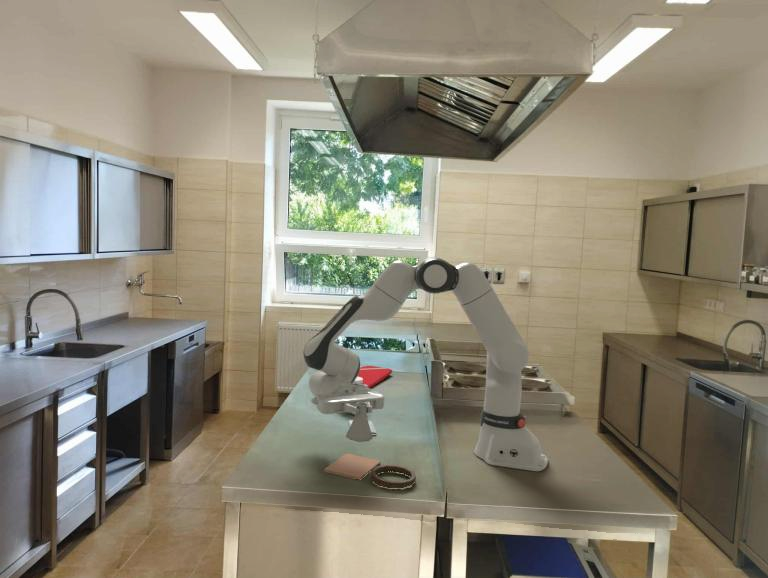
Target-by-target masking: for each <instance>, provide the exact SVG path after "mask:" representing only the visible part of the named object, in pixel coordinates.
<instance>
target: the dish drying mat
mask: <svg viewBox="0 0 768 578" xmlns="http://www.w3.org/2000/svg"><path fill="white" fill-rule="evenodd" d="M392 373H393V369H390V368H386V367H381V366H373V365H364V366H360V371H359V374H358V376H357V377H361V378H363V383H362V384H365V385H367V386H368V387H369V389H372V388H373V387H374V386H376V385H378V384H379V383H380V382H382V381H384V380H385V379H386V378H388V377H389V376H390V375H392Z"/></svg>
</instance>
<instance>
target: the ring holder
mask: <svg viewBox="0 0 768 578" xmlns="http://www.w3.org/2000/svg"><path fill="white" fill-rule="evenodd" d="M388 471H389V472H390V471H391V472H392V471H393V472H399V473H404V474H406V475H408V476H410V479H409V478H407V479H404V480H388V479H384V478H381V477H380V476H379V475H377V474H378V473H381V472H388ZM376 475H377V476H376ZM370 477H371V478H370V481H372V482H374V483H375V484H377V485H379V486H383V487H387V488H404V487H407V486H410V485H412V484H413V483H414V482H415V483H416V481H417V480H416V478H417V476H416V473H415V471H414V470H412V469H410V468H408V467H406V466H402V465H398V464H382V465H381V464H380V465H378V466H376V467H375V468H373V469H372V470H371V472H370ZM372 482H371V483H372ZM375 484H374V485H375Z"/></svg>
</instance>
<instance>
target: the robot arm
mask: <svg viewBox="0 0 768 578" xmlns="http://www.w3.org/2000/svg"><path fill="white" fill-rule="evenodd" d="M415 290H422V291H424V292H426V293H428V294H432V295H433V294H442V293H445V292H451V293H452V294H453V295H454V296H455V299H456V300H457V301H458V303H459V304H460V307H461V308H462V310H463V312H464V314H465V315H466V317H467V319H468V320H469V322H470V324H471V325H472V328H473V329H474V331H475V333H476V334H477V336H478V338H479V340H480V342H481V343H482V345H483V347H484V348H485V350H486V364H485V365H486V367H485V368H486V370H485V371H486V372H485V389H484V391H485V392H484V399H483V401H484V402H483V408H482V409H481V414H480V431H479V436H478V440H477V443H476V446H475V448H474V451H473V453H474V454H475V456H477V457H478V458H479V459H481V460H483V461H484V462H485V463H487V464H488V465H490V466H497V467H504V468H512V469H517V470H525V471H531V472H541V471H543V470H545V469H546V468H547V466H548V464H549V463H548V460H549V458H548V456H546V455H545V454H543V453H542V447H541V446H542V445H541V443H540V439H538V438H537V436H535V435H534V434H533V433H532V432H531V431H530V430H529V429H528V428H527V427H526V418H527V417H526V415H523V414H522V413H520V411H521V400H522V393H523V392H522V390H523V387H522V386H523V384H522V383H523V382H522V370H524V368H525V367H526V366H527V364H528V363H529V362H528V361H529V355H530V353H529V352H530V351H529V349H528V346H527V345H526V343H525V341H524V339H523V337H522V335H521V334H520V333H519V330H518V328H517V327H516V326H515V324H514V322H513V320H512V319H511V317H510V316H509V314H508V313H507V311H506V309H505V308H504V306H503V304H502V302H501V300H500V299H499V297H498V295H497V293H496V292H495V289H494V288H493V287H492V285H491V283H490V281H489V280H488V279H487V277H486V275H485V274H484V273H483V271H482V270H481V269H480V267H478V266H477V265H476V264H475V263H473V262H470V261H469V262H468V261H467V262H461V263H459V264H458V265H453V264H451V263H449V262H448V261H446V260H444V259H443V258H440V257H437V256H428V257H426V258H424V259H422V260H420V261H418V262H417V263H414V264H409V262H406V261H403V260H393V261H392V262H390V263H389V265H388V266H387V267H385V268H384V270H383V271H382V272H381V274H379V276H378V277H377V278H376V280H375V281H374V283H373V284H372V285H371V287H370V288H369V289H368V290H366V291H365V292H364V293H363V294H360V295H355V296H353V297H352V298H350V299H349V300H348V301H347V302H346V303H345V304H344V305H343V306H342V307H341V308H340V309H339V310H338V311H337V313H336V314H334V316H333V317H332V318H331V319H330V320H329V321H328V322H327V324H326V325H324V327H323V328H321V329H320V331H319V332H318V333H317V334H316V335H314V336H313V337H312V338H311V339H310V340H308V341H307V343H306V344H305V346H304V349H303V350H302V351H303V352H302V353H303V359H304V362H305V364H306V366H307V367H309V368H311V369H313V370H316V371H315V372H314V373H312V374H311V375H310V377H309V380H308V388H309V390H310V393H311V394H312V395H313V397H314V398H312V399H311V403H312V404H314V405H315V406H316V409H317V410H318V411H319V412H320V413H321V414H322V415H323V414H325V415H332V414H339V413H349V414H350V413H351V414H353V415H355V414H359V410H360V409H359V407H357V405H356V403H358V402H365V403H367V404H368V406H367V414H372V413H373V411H374V410H382V409H383V408H384V407H385V396H384V395H383V394H382V393H380V392H378V391H376V390H374V389H372V388H370V389H369V387H368V386H367V385H365V384H353V382H354V381H355V379H356V378H357V376H358V374H359V371H360V368H361V360H360V357H359V355H358V354H357V353H356V352H354V351H352V350H351V349H348V348H347V347H344V346H343V345H340V344H339V343H337V342H335V341H336V340H337V339H338V338H339V337H341V335H342V334H343V333H344V332H345V331H346V329H347V328H348V327H349V326H350V325H351V324H353V323H354V322H357V321H360V320H361V321H362V320H363V321H364V320H367V321H373V322H374V321H375V322H376V321H378V322H382V321H387V320H390V319H392V318H394V316H396V315H397V313H398V312H399V311H400V309H401V308H402V306H404V304H405V302H406V301H407V299H408V297H409V296H410V295H411V294H412V293H413V292H415Z"/></svg>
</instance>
